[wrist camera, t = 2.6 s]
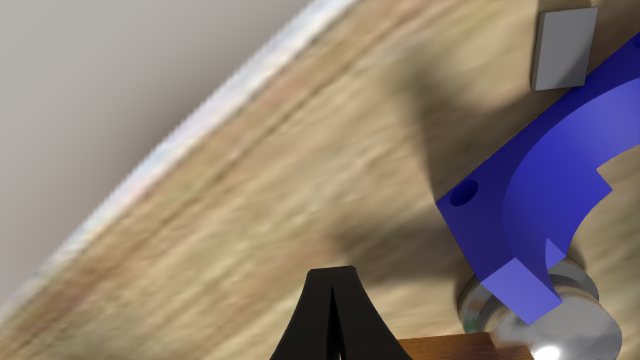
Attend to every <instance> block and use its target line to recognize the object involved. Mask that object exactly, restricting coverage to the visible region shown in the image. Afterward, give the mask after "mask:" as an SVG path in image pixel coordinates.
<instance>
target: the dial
mask: <svg viewBox="0 0 640 360" xmlns="http://www.w3.org/2000/svg"><path fill="white" fill-rule="evenodd" d="M548 275H549V277H550V280H551V283H552V285H553V287H554V289H555V291H556V293H557V294H558V296H559V297H560V299H561V300H562V302H563V303H562V304H560V305H559V306H557V307H556V308H554V309H553V310H551V311H550V312H548V313H547V314H545V315H544V316H542V317H541V318H539V319H538V320H536V321H534V322H533V323H531V324H530V325H528V324H527V323H526V322H524V321H523V320H522V319H521V318H520V317H519V316H517V315H516V314H515V313H514V312H513V311H512V310H511V309H509V308H508V307H507V306H506V305H505V304H504V303H503V302H501V301H500V300H499V299H498V298H497V297H496V296H494V295H492V296H491V297H490V298H489V299H488V300H487V302H486V303H485V304H484V306H483V307H482V309H481V310H480V312H479V315H478V317H477V321H476V333H469V334H457V335H446V336H434V337H423V338H411V339H400V340H397V341H398V342H399V343H400V345H401V346H402V347H403V348H404V350H405V351H406V352H407V353H408V355H409V356H410V357H411V358H412V359H413V360H616V358H617V356H618V354H619V352H620V350H621V345H622V333H621V330H620V327H619V325H618V324H617V323H616V321H615V320H614V319H613V318H612V317H611V316H610V314H609V313H608V312H607V311H606V310H605V309H604V308H603V307H602V306H601V304H600V303H599V302H598V301H597V300H596V299H595V298H594V297H593V296H592V295H591V293H590V292H589V291H588V290H587V289H586V288H585V287H584V286H583V285H582V284H581V283H579V282H578V281H576V280H574V279H572V278H569V277H566V276H562V275H557V274H548Z"/></svg>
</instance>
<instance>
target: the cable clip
mask: <svg viewBox="0 0 640 360" xmlns="http://www.w3.org/2000/svg"><path fill="white" fill-rule="evenodd" d="M638 144H640V32H639V33H637V34H636V35H635V36H634V37H633V38H631V39H630V40H629V41H628V42H627V43H626V44H624V45H623V46H622V47H621V48H620V49H618V50H617V51H616V52H615V53H614V54H612V55H611V56H610V57H609V58H608V59H606V60H605V61H604V62H603V63H602V64H601V65H599V66H598V67H597V68H596V69H595V70H593V71H592V72H591V73H590V74H589V75H587V76H586V79H585V84H584V86H575V87H573V88H572V89H571V90H570V91H568V92H567V93H566V94H565V95H564V96H562V97H561V98H560V99H559V100H558V101H556V102H555V103H554V104H553V105H552V106H550V107H549V108H548V109H547V110H546V111H545V112H543V113H542V114H541V115H540V116H539V117H537V118H536V119H535V120H534V121H533V122H531V123H530V124H529V125H528V126H527V127H525V128H524V129H523V130H522V131H521V132H520V133H518V134H517V135H516V136H515V137H514V138H512V139H511V140H510V141H509V142H508V143H506V144H505V145H504V146H503V147H502V148H500V149H499V150H498V151H497V152H496V153H495V154H493V155H492V156H491V157H490V158H489V159H487V160H486V161H485V162H484V163H483V164H481V165H480V166H479V167H478V168H477V169H475V170H474V171H473V172H472V173H471V174H470V175H468V176H467V177H466V178H465V179H464V180H462V181H461V182H460V183H459V184H458V185H456V186H455V187H454V188H453V189H452V190H450V191H449V192H448V193H447V194H446V195H444V196H443V197H442V198H441V199H440V200H439V201H437V202H436V203H435V204H436V205H437V207H438V209H439V211H440V213H441V214H442V216H443V218H444V220H445V221H446V223H447V225H448V227H449V229H450V230H451V232H452V234H453V236H454V237H455V239H456V241H457V243H458V245H459V246H460V248H461V250H462V252H463V253H464V255H465V257H466V259H467V261H468V262H469V264H470V266H471V268H472V269H473V271H474V273H475V275H476V277H477V278H478V280H479V282H480V283H481V284H482V285H483V286H484V287H485V288H486V289H488V290H489V291H490V292H491V293H492V294H493V295H494V296H496V297H497V298H498V299H499V300H500V301H501V302H503V303H504V304H505V305H506V306H507V307H508V308H509V309H511V310H512V311H513V312H514V313H515V314H516V315H517V316H519V317H520V318H521V319H522V320H523V321H524V322H526V323H527V324H528V325H530V324H531V323H533V322H534V321H536V320H538V319H539V318H541V317H542V316H544V315H545V314H547V313H548V312H550V311H551V310H553V309H554V308H556V307H557V306H559V305H560V304H562V303H563V302H562V300H561V299H560V297H559V296H558V294H557V293H556V291H555V289H554V287H553V285H552V283H551V280H550V277H549V275H548V271H547V270H548V269H549V268H551V267H552V266H554V265H555V264H556V263H558V262H559V261H561V260H562V259H564V258H565V257H566V256H567V252H568V248H569V245H570V242H571V240H572V238H573V235H574V233H575V232H576V230H577V228H578V226H579V225H580V223H581V222H582V220H583V219H584V218H585V216H586V215H587V214H588V213H589V212H590V210H591V209H592V208H593V207H594V206H595V205H596V204H597V203H598V202H599V201H600V200H602V199H603V198H604V197H605V196H606V195H608V194H609V193H610V192H611V191H613V190H612V188H611V187H610V186H609V185H608V184H607V183H606V181H605V180H604V179H603V178H602V177H601V175H600V174H599V173H598V172H597V171H596V170H595V169H597V168H598V167H599V166H601V165H602V164H604V163H605V162H607V161H608V160H610V159H611V158H613V157H615V156H617V155H618V154H620V153H622V152H624V151H626V150H628V149H630V148H632V147H634V146H636V145H638Z"/></svg>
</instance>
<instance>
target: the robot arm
mask: <svg viewBox="0 0 640 360" xmlns="http://www.w3.org/2000/svg"><path fill="white" fill-rule="evenodd" d="M340 356H341V360H413V359H412V358H411V357H410V356H409V355H408V353H407V352H406V351H405V350H404V348H403V347H402V346H401V345H400V343H399V342H398V341H397V339H396V338H395V337H394V335H393V334H392V333H391V331H390V330H389V329H388V327H387V326H386V324H385V323H384V321H383V320H382V318H381V317H380V315H379V314H378V312H377V310H376V309H375V307H374V306H373V304H372V302H371V301H370V299H369V297H368V295H367V294H366V292H365V290H364V288H363V286H362V284H361V282H360V279H359V277H358V274H357V272H356V268H354V267H353V266H352V265H351V266H341V267H330V268H320V269H311V270H310V271H309V272H308V273H307V277H306V281H305V285H304V288H303V291H302V294H301V296H300V299H299V302H298V304H297V306H296V309H295V311H294V313H293V316H292V318H291V320H290V322H289V324H288V327H287V329H286V330H285V332H284V334H283V336H282V338H281V340H280V342H279V344H278V346H277V348H276V350H275V351H274V353H273V355H272V357H271V358H270V360H340Z"/></svg>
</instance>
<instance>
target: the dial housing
mask: <svg viewBox="0 0 640 360" xmlns="http://www.w3.org/2000/svg"><path fill="white" fill-rule="evenodd" d="M547 271H548V274H557V275H562V276H566V277H569V278H572V279H574V280H576V281H578V282H579V283H581V284H582V285H583V286H584V287H585V288H586V289H587V290H588V291H589V292H590V293H591V295H592V296H593V297H594V298H595V299H596V300H597V301H598V302H599V295H598V290H597V288H596V285H595V284H594V282H593V281H592V279H591V278H590V277H589V276H588V275H587V274H586V273H585V272H584V271H583V270H582V269H581V267H580V266H579V265H578V264H577V263H576V262H574V261H573V260H572V259H570V258H569V257H567V256H566V257H565V258H564V259H562V260H561V261H559V262H558V263H556V264H555V265H554V266H552V267H551V268H549V269H548V270H547ZM492 295H493V294H492V293H491V292H490V291H489V290H488V289H486V288H485V287H484V286H483V285H482V284H481V283H480V282H479V280H478V278H477V277H476V275H475V276H474V277H473V278H472V279H471V280H470V281H469V283H468V284H467V286H466V287H465V289H464V291H463V293H462V295H461V298H460V301H459V307H458V314H459V319H460V322H461V324H462V326H463V329H464V331H465V333H466V334H469V333H476V321H477V317H478V315H479V312H480V310H481V309H482V307H483V306H484V304H485V303H486V302H487V300H488V299H489V298H490V297H491V296H492Z"/></svg>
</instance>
